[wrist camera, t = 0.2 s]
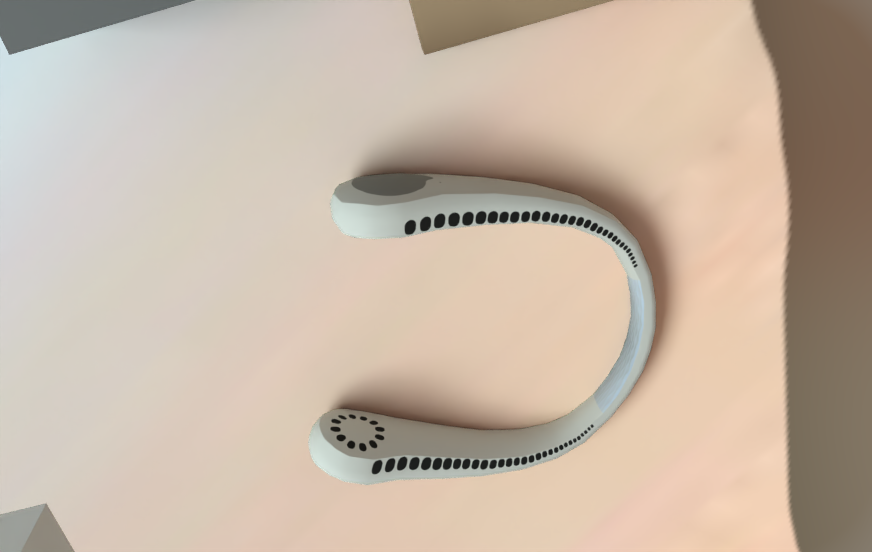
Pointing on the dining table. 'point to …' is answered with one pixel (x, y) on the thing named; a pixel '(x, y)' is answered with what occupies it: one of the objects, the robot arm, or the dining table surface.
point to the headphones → (454, 446)
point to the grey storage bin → (66, 18)
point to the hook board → (482, 18)
